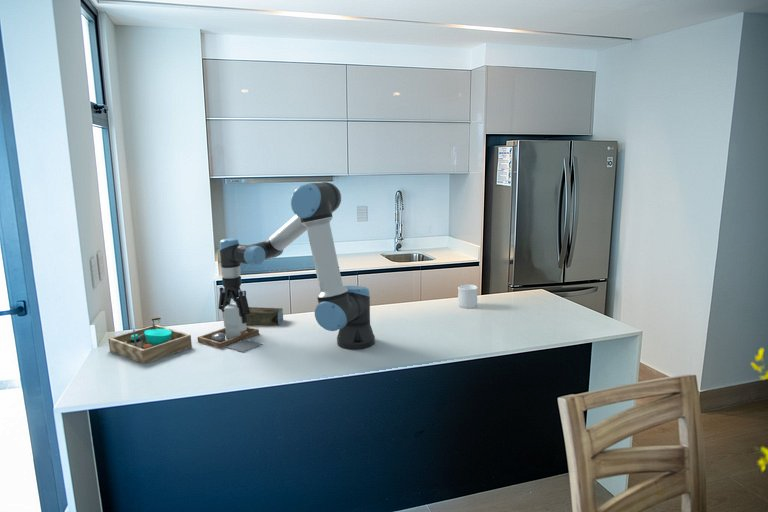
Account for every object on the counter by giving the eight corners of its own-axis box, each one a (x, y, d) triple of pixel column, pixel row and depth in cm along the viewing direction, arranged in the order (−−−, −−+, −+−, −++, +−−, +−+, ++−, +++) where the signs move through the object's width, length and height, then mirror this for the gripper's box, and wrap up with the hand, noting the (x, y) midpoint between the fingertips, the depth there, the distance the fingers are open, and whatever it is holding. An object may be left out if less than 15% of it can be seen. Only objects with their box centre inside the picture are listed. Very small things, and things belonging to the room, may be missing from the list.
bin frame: (259, 334, 221) (258, 329, 221) (220, 348, 205) (219, 343, 205) (237, 328, 229) (236, 323, 229) (197, 341, 213) (197, 337, 212)
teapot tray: (191, 347, 207) (190, 335, 206) (144, 363, 191) (142, 350, 190) (156, 335, 221) (155, 324, 220) (109, 350, 205) (108, 338, 204)
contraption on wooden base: (125, 347, 208) (120, 310, 205) (173, 338, 216) (170, 303, 213) (126, 359, 196) (122, 321, 193) (178, 350, 204) (174, 313, 201)
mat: (262, 344, 208) (262, 343, 208) (242, 352, 200) (242, 351, 200) (245, 340, 214) (245, 339, 214) (225, 347, 206) (225, 346, 206)
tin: (228, 341, 214) (227, 334, 213) (217, 344, 210) (217, 337, 209) (220, 338, 216) (219, 331, 216) (210, 342, 212) (209, 335, 212)
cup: (457, 308, 253) (457, 289, 251) (458, 302, 263) (458, 284, 261) (477, 309, 252) (477, 289, 250) (477, 303, 261) (477, 284, 259)
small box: (241, 338, 216) (239, 308, 213) (225, 338, 216) (223, 308, 213) (245, 331, 224) (243, 302, 221) (230, 332, 224) (228, 302, 221)
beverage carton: (278, 326, 232) (277, 311, 231) (236, 325, 234) (235, 311, 233) (283, 320, 240) (283, 306, 238) (243, 319, 242) (242, 306, 240)
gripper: (257, 277, 212) (260, 330, 216) (221, 271, 224) (225, 321, 228) (242, 281, 206) (246, 335, 210) (206, 274, 218) (211, 326, 222)
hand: (235, 328), depth 219 cm, fingers closed on small box, 10 cm apart
